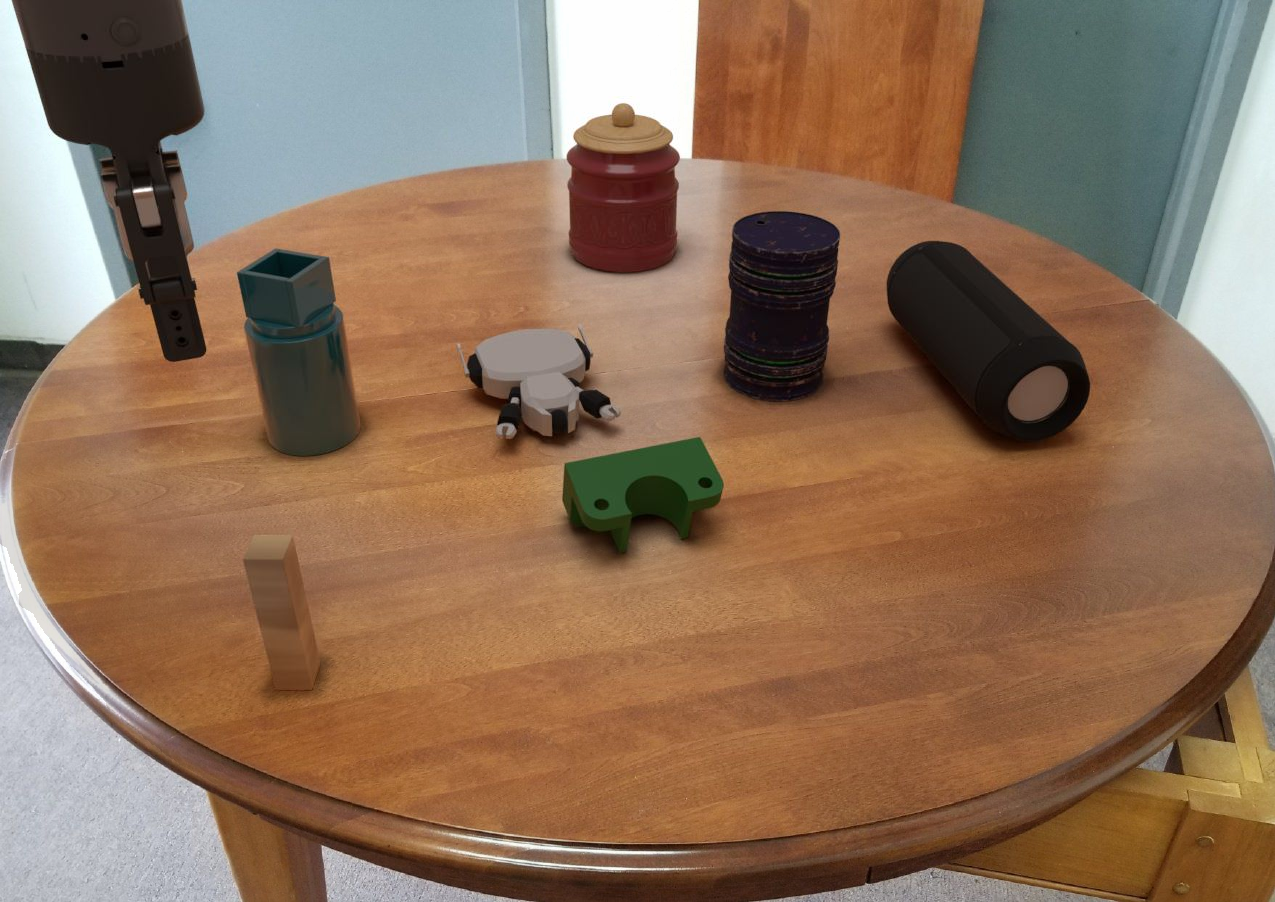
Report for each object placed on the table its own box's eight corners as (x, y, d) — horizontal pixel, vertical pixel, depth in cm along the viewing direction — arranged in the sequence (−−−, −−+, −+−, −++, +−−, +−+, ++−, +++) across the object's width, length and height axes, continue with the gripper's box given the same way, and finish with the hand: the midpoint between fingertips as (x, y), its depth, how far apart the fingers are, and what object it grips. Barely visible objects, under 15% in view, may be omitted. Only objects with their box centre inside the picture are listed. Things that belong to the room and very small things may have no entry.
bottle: (249, 445, 93) (210, 276, 84) (302, 401, 100) (271, 239, 91) (328, 463, 91) (296, 292, 82) (377, 417, 97) (353, 252, 89)
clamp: (605, 589, 85) (566, 533, 77) (582, 532, 88) (543, 473, 81) (742, 523, 84) (716, 460, 77) (713, 468, 88) (686, 404, 81)
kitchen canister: (612, 223, 137) (611, 81, 127) (697, 247, 130) (704, 100, 120) (546, 256, 128) (540, 106, 118) (635, 284, 122) (636, 128, 112)
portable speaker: (1084, 445, 95) (1113, 345, 89) (979, 456, 93) (1002, 355, 87) (958, 317, 115) (976, 229, 110) (871, 324, 114) (884, 235, 108)
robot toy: (628, 442, 96) (578, 354, 107) (630, 400, 93) (578, 315, 104) (494, 467, 92) (457, 374, 103) (491, 424, 90) (454, 333, 101)
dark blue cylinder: (844, 375, 105) (863, 230, 96) (784, 413, 99) (799, 263, 90) (762, 341, 110) (774, 202, 102) (701, 376, 104) (708, 231, 96)
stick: (285, 663, 72) (253, 533, 65) (321, 663, 72) (293, 534, 66) (275, 690, 70) (242, 559, 63) (312, 690, 70) (282, 559, 64)
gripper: (27, 8, 57) (107, 286, 66) (17, 73, 46) (114, 395, 55) (176, -2, 60) (233, 267, 69) (199, 58, 49) (264, 368, 58)
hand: (180, 324), depth 62 cm, fingers open, 8 cm apart
